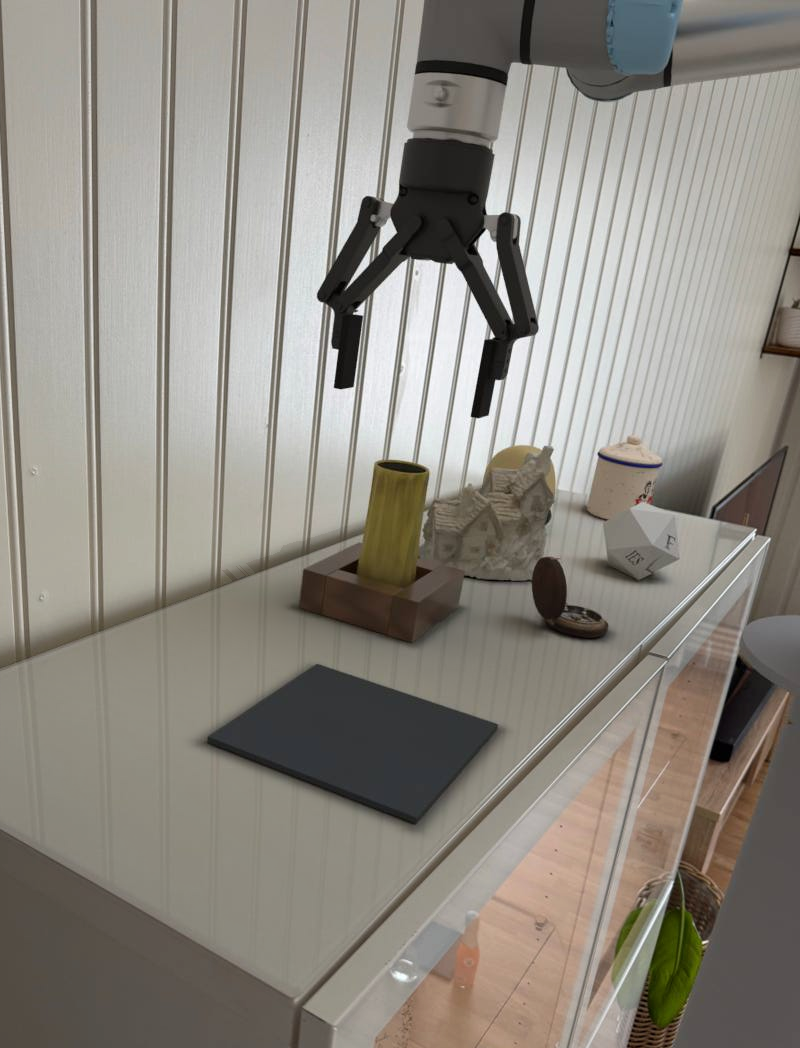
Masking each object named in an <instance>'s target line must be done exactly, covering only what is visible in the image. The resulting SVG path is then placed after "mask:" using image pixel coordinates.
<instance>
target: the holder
mask: <svg viewBox="0 0 800 1048" xmlns="http://www.w3.org/2000/svg"><path fill="white" fill-rule="evenodd" d="M361 547H362V542H361V541H360V542H356V543H354V544H352V545H350V546H348V547H346V548H343V549H342V550H340V551H337V552H336V553H333V554H331V555H330V556H327V557H325V558H324V559H321V560H319V561H317V562H315V563H313V564H311V565H309V566H307V567H304V568H303V569H302V578H301V585H300V587H301V588H300V594H299V602H298V603H299V604H298V608H299V609H301V610H306V611H308V612H312V613H314V614H318V615H321V616H324V617H328V618H331V619H334V620H338V621H340V622H344V623H347V624H351V625H354V626H357V627H359V628H364V629H366V630H370V631H373V632H375V633H378V634H379V633H380V634H383V635H386V636H389V637H392V638H396V639H398V640H401V641H404V642H407V643H411V644H412V643H414V642H415V641H416V640H417V639H419V638H420V637H421V636H423V635H424V634H425V633H426V632H428V631H430V629H432V628H434V627H435V626H436V625H437V624H438V623H440V622H442V620H444V619H445V618H446V617H448V616H449V615H450V614H452V613H453V612H454V611H456V610H457V609H458V608H459V605H460V600H461V594H462V589H463V584H464V578H465V575H464V573H465V571H464V570H460V569H456V568H452V567H449V566H445V565H441V564H438V563H434V562H430V561H426V560H423V559H420V557H418V558H417V566H416V575H415V582H414V583H412V584H411V585H409V586H408V587H406V588H401V587H397V586H394V585H390V584H387V583H383V582H380V581H376V580H373V579H369V578H366V577H362V576H359V575H356V573H357V567H358V562H359V557H360V552H361Z"/></svg>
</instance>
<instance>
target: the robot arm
mask: <svg viewBox="0 0 800 1048" xmlns="http://www.w3.org/2000/svg"><path fill="white" fill-rule="evenodd" d="M421 16H422V17H421V24H420V32H419V33H420V34H419V40H418V47H417V48H418V49H417V56H416V57H417V58H416V64H415V70H414V76H413V82H412V90H411V96H410V103H409V108H408V109H409V110H408V116H407V122H406V123H407V124H406V128H407V130H408V131H409V132H410V133H412V138H408V139H407V140H406V142H404V144H403V150H402V157H401V164H400V170H399V171H400V172H399V180H398V194H397V197H396V199H395V201H394V202H393V203H392V202H387V201H385V199H383V198H381V197H377V196H371V195H366V196H364V197H363V198H362V200H361V202H360V207H359V211H358V216H357V221H356V223H355V224H354V227H353V229H352V230H351V231H350V233H349V236H348V237H347V239H346V241H345V243H344V245H343V247H342V248H341V250H340V252H339V253H338V255H337V257H336V259H335V261H333V264H332V265H331V267H330V269H329V271H328V273H327V274H326V276H325V278H324V280H323V282H322V284H321V285H320V287H319V289H318V290H317V293H316V299H317V301H318V302H320V303H324V304H325V305H326V306H328V307H330V308H331V309H332V311H333V315H334V316H333V323H332V333H331V340H330V343H331V349H333V350H338V351H337V357H336V366H335V372H334V373H335V374H334V382H333V389H335V390H346V389H351V388H355V380H356V372H357V365H358V359H359V351H360V343H361V336H362V330H363V329H362V328H363V321H364V315H362V314H356V313H358V312H359V310H358V308H359V307H360V306H361V305H363V303H364V302H365V301H367V300H368V298H369V297H370V296H371V295H372V294H373V293H374V292H375V291H376V290H377V289H378V288H379V287H380V286H381V285H382V283H384V282H385V281H386V280H387V279H388V277H389V276H390V275H392V273H393V272H394V271H395V270H396V269H398V267H400V265H401V264H402V263H403V262H406V261H407V260H408V259H410V260H415V261H425V262H426V261H428V262H429V261H432V262H434V263H437V264H444V265H445V264H446V265H453V264H454V265H455V267H456V269H458V271H459V272H460V273H461V274H462V276H463V278H464V281H465V282H466V284H467V286H468V288H469V290H470V292H471V294H472V295H473V298H474V300H475V301H476V303H477V305H478V308H479V309H480V311H481V313H482V316H483V317H484V319H485V321H486V323H487V325H488V327H489V328H490V330H491V333H492V334H493V337H492V338H487V339H484V340H483V346H482V351H481V356H480V363H479V368H478V374H477V378H476V384H475V389H474V395H473V401H472V407H471V411H470V418H474V419H482V418H485V417H488V416H490V411H491V406H492V399H493V395H494V390H495V384H496V381H503V380H505V379H506V377H507V375H508V373H509V367H510V362H511V357H512V353H513V347H514V344H515V343H516V341H518V340H519V339H523V338H528V337H532V336H533V337H534V336H536V335H537V334H538V333H539V330H540V327H539V322H538V318H537V314H536V309H535V306H534V301H533V297H532V293H531V288H530V284H529V280H528V276H527V272H526V271H527V270H526V268H525V263H524V260H523V255H522V250H521V248H520V247H521V246H520V236H521V235H520V234H521V226H522V225H521V224H522V219H521V217H520V216H519V215H518V214H515V213H511V212H506V211H504V212H501V213H500V214H487V206H486V205H487V199H488V195H489V191H490V190H489V189H490V184H491V178H492V173H493V167H494V162H495V156H496V154H494V150H493V149H491V148H490V144H491V143H494V142H496V141H497V140H498V138H499V132H500V128H501V121H502V116H503V115H502V114H503V111H504V110H503V108H504V103H505V97H506V90H507V87H508V82H509V81H508V80H509V73H510V70H511V66H512V64H513V63H515V64H522V65H527V66H528V65H529V66H532V65H535V66H546V67H553V68H561V69H562V68H563V69H565V71H566V76H567V77H568V79H569V81H570V84H571V85H572V86H573V87H574V88H575V89H576V90H577V91H578V92H580V93H581V95H583V96H584V97H585V98H587V99H589V100H592V101H595V102H599V103H612V102H618V101H621V100H623V99H625V98H626V97H629V96H631V95H633V94H634V93H639V92H645V91H652V90H659V89H664V88H668V87H672V86H673V87H674V86H680V85H688V84H694V83H695V84H696V83H703V82H711V81H717V80H725V79H732V78H733V79H734V78H739V77H740V78H741V77H746V76H747V77H749V76H754V75H755V76H756V75H762V74H769V73H775V72H776V73H777V72H783V71H791V70H798V69H800V0H423V8H422V15H421ZM389 219H390V220H391V222H392V224H393V227H394V229H395V231H396V232H395V234H394V235H393V236H392V237H391V238H390V239H389V240H388V241H387V242H386V243H385V245H384V246H383V247H382V248H381V249H382V250H381V251H380V253H379V254H378V255H377V256H376V257H375V258H374V259H373V260H372V261H371V262H370V264H368V265H367V266H366V267H365V268H364V269H363V271H362V272H361V273H360V274H359V275H358V276H357V277H356V278H355V279H354V280H353V281H352V279H353V277H354V276H355V274H356V272H357V270H358V269H359V268H360V265H361V264H362V262H363V260H364V258H365V257H366V255H367V253H368V252H369V250H370V248H371V246H372V244H373V243H374V242H375V240H376V238H377V236H378V234H379V232H380V229H381V227H384V226H386V224H387V222H388V220H389ZM486 231H488V233H489V237H490V239H491V241H492V242H494V243H495V244H496V247H495V248H496V253H497V258H498V261H499V265H500V269H501V274H502V277H503V282H504V285H505V286H504V287H505V290H506V294H507V298H508V302H509V306H510V311H511V314H512V318H511V316H510V314H509V312H508V310H507V308H506V307H505V305H504V302H503V301H502V299H501V296H500V295H499V293H498V291H497V289H496V286H495V285H494V283H493V281H492V279H491V278H490V275H489V274H488V271H487V269H486V267H485V266H484V261H483V260H484V259H483V258H482V256H481V254H480V252H479V250H478V249H477V246H476V245H475V243H476V242H477V241H478V240H479V239H480V238H481V237H482V235H483V234H484V233H485V232H486ZM351 281H352V282H351ZM350 282H351V284H350ZM512 319H513V321H512Z"/></svg>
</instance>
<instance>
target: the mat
mask: <svg viewBox="0 0 800 1048" xmlns="http://www.w3.org/2000/svg"><path fill="white" fill-rule="evenodd" d="M498 728H499V724H498V723H496V722H493V721H490V720H487V719H483V718H481V717H478V716H475V715H472V714H469V713H466V712H463V711H460V710H456V709H454V708H451V707H448V706H445V705H442V704H440V703H435V702H433V701H430V700H427V699H424V698H421V697H419V696H416V695H412V694H409V693H406V692H404V691H400V690H397V689H395V688H392V687H388V686H385V685H382V684H379V683H376V682H374V681H371V680H367V679H364V678H361V677H358V676H356V675H352V674H350V673H346V672H343V671H340V670H337V669H334V668H332V667H328V666H325V665H322V664H319V663H316V664H314V665H313V666H312V667H310V668H308V669H306V670H305V671H304V672H303V673H301V674H299V675H298V676H297V677H295V678H293V679H291V680H290V681H289V682H287V683H285V684H284V685H283V686H281V687H280V688H278V689H277V690H275V691H274V692H272V693H270V694H269V695H267V696H266V697H265V698H263V699H262V700H260V701H259V702H257V703H256V704H254V705H253V706H251V707H250V708H249V709H247V710H246V711H244V712H242V713H241V714H239V715H238V716H237V717H235V718H233V719H232V720H230V721H229V722H228V723H226V724H224V725H222V726H221V727H219V728H218V729H217V730H215V731H213V732H212V733H210V734H209V735H208V736H207V740H206V741H207V742H206V743H208V744H211V745H213V746H216V747H218V748H221V749H223V750H226V751H229V752H231V753H234V754H236V755H239V756H242V757H244V758H246V759H249V760H252V761H254V762H257V763H259V764H261V765H265V766H267V767H269V768H272V769H275V770H277V771H279V772H282V773H285V774H287V775H290V776H292V777H294V778H297V779H300V780H302V781H305V782H308V783H310V784H312V785H315V786H318V787H321V788H322V789H325V790H328V791H330V792H334V793H336V794H338V795H341V796H343V797H346V798H348V799H351V800H353V801H356V802H358V803H361V804H364V805H366V806H368V807H371V808H374V809H377V810H378V811H381V812H384V813H387V814H390V815H392V816H394V817H396V818H400V819H402V820H405V821H407V822H409V823H412V824H415V825H416V824H417V823H418V822H419V821H420V820H421V819H422V817H423V816H424V815H425V814H426V813H427V812H428V811H429V809H430V808H431V807H432V806H433V805H434V804H435V802H436V801H437V800H438V799H439V798H440V797H441V796H442V795H443V793H444V792H445V791H446V789H447V788H448V787H449V786H450V785H451V784H452V783H453V782H454V780H455V779H456V778H457V777H458V776H459V775H460V773H461V772H462V771H463V770H464V768H465V767H466V766H467V765H468V764H469V763H470V762H471V761H472V759H474V757H475V756H476V755H477V753H479V751H480V750H481V749H482V748H483V747H484V745H485V744H486V743H487V742H488V741H489V740H490V738H492V736H493V735H494V734H495V733H496V731H497V730H498Z"/></svg>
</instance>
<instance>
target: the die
mask: <svg viewBox="0 0 800 1048" xmlns="http://www.w3.org/2000/svg"><path fill="white" fill-rule="evenodd" d="M602 527H603V535H604V540H605V541H604V542H605V549H606V557H607V564H608V566H609V567H611V568H614V569H615V570H618V571H619V572H621V573H623V574H625V575H627V576H629V577H631V578H633V579H636V580H637V581H640V580H642V579H644V578H646V577H647V576H649V575H652V574H654V573H655V572H657V571H659V570H662V569H663V568H665V567H667V566H669V565H671V564H673V563H675V562H677V561H679V560H680V559H681V557H680V549H679V540H678V539H679V538H678V530H677V523H676V515H675V513H672V512H669V511H667V510H665V509H662V508H660V507H657V506H654V505H652V504H651V503H650V504H647V503H645V502H642V503H640V504H638V505H636V506H634V507H632V508H630V509H628V510H626V511H624V512H622V513H620V514H619V515H617V516H615V517H613V518H611V519H609V520H607V519H606V520H605V521H603V522H602Z"/></svg>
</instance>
